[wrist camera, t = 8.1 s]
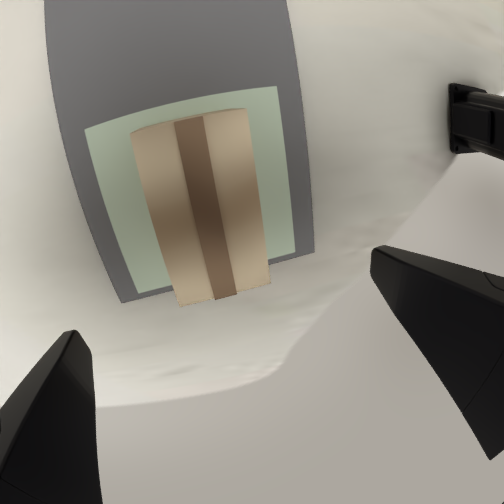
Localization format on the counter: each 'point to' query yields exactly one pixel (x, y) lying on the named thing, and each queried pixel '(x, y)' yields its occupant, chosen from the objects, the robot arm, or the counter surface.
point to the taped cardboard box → (204, 203)
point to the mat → (175, 113)
